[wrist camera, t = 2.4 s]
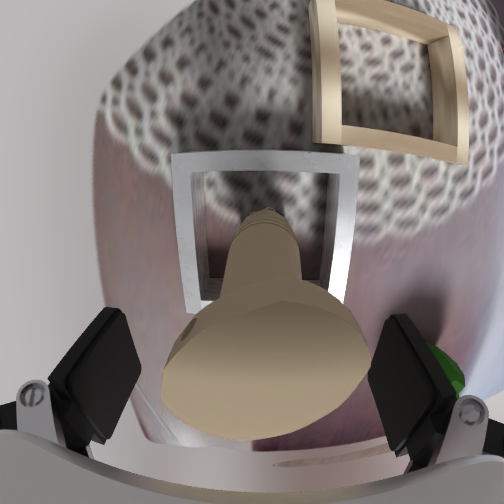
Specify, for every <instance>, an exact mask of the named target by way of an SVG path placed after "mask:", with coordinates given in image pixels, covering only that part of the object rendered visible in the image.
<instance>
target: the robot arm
mask: <svg viewBox="0 0 504 504" xmlns="http://www.w3.org/2000/svg"><path fill="white" fill-rule="evenodd" d="M140 373H141V364H140V361H139V358H138V355H137V352H136V349H135V346H134V343H133V339H132V336H131V333H130V330H129V326H128V323H127V319H126V316H125V314H124V313H122V311H121V310H120V309H119V308H111V307H105V308H103V310H102V311H101V312H100V313H99V314H98V315H97V317H96V318H95V319H94V320H93V321H92V322H91V324H90V325H89V326H88V327H87V329H86V330H85V331H84V332H83V333H82V335H81V336H80V337H79V338H78V340H77V341H76V342H75V343H74V344H73V346H72V347H71V348H70V349H69V351H68V352H67V353H66V355H65V356H64V357H63V359H62V360H61V361H60V363H59V364H58V365H57V366H56V368H55V369H54V370H53V372H52V373H51V374H50V376H49V377H48V380H49V381H50V383H49V385H47V384H46V383H45V382H43V381H41V380H31V381H28V382H26V383H25V384H24V385H22V386H21V388H20V389H19V391H18V393H17V397H16V401H14V402H11V403H7V404H4V405H0V504H504V424H502V423H500V422H497V421H495V420H492V419H489V411H488V408H487V406H486V405H485V403H484V402H483V401H482V400H481V399H480V398H478V397H476V396H472V395H465V396H462V397H460V398H459V399H457V397H456V394H457V392H456V390H455V389H454V387H453V385H452V383H451V382H450V380H449V378H448V377H447V375H446V373H445V372H444V370H443V368H442V367H441V365H440V363H439V362H438V360H437V359H436V357H435V355H434V354H433V352H432V351H431V349H430V348H429V346H428V345H427V343H426V341H425V340H424V338H423V337H422V335H421V334H420V332H419V331H418V330H417V328H416V327H415V325H414V324H413V322H412V321H411V319H410V318H409V316H408V315H407V314H393V315H391V316H390V317H389V319H386V320H385V323H384V326H383V329H382V332H381V336H380V339H379V342H378V345H377V348H376V351H375V354H374V357H373V360H372V362H371V367H370V369H369V371H368V382H369V385H370V388H371V390H372V393H373V396H374V399H375V402H376V405H377V408H378V412H379V415H380V418H381V421H382V424H383V427H384V431H385V434H386V437H387V441H388V444H389V447H390V449H391V451H394V452H395V455H396V457H399V456H403V455H406V454H409V457H410V462H409V464H408V466H407V468H406V470H405V472H404V474H403V475H399V476H395V477H391V478H387V479H383V480H379V481H374V482H370V483H365V484H360V485H354V486H348V487H342V488H335V489H327V490H318V491H307V492H288V493H253V492H252V493H251V492H234V491H223V490H214V489H206V488H198V487H192V486H186V485H181V484H176V483H170V482H166V481H162V480H157V479H153V478H149V477H145V476H142V475H138V474H135V473H131V472H128V471H125V470H122V469H119V468H116V467H112V466H110V465H107V464H104V463H102V462H99V461H96V460H94V457H93V454H92V451H91V449H90V445H89V444H90V441H91V440H92V441H94V442H97V443H100V444H103V445H104V444H105V442H106V440H107V439H110V438H111V436H112V434H113V432H114V429H115V427H116V425H117V423H118V420H119V418H120V416H121V414H122V412H123V410H124V407H125V405H126V403H127V401H128V399H129V397H130V395H131V392H132V390H133V388H134V386H135V384H136V382H137V380H138V378H139V376H140Z"/></svg>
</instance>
